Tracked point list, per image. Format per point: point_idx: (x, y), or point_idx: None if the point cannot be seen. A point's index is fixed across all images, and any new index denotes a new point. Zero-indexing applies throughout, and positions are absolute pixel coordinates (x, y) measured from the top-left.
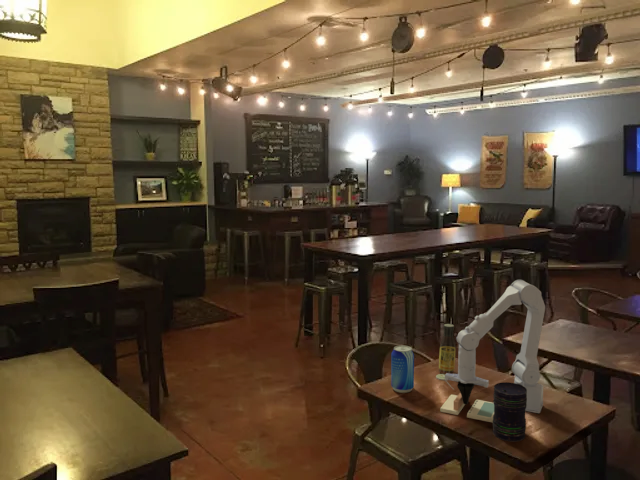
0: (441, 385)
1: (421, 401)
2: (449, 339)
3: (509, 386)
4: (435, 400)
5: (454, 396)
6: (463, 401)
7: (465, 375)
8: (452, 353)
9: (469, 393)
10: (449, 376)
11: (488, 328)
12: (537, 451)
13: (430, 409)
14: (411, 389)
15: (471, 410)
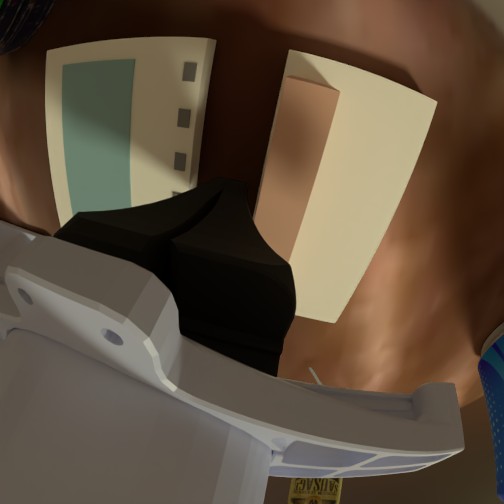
0: (357, 386)
1: (498, 242)
2: None
3: None
4: (428, 266)
5: (316, 303)
6: (242, 186)
7: (5, 460)
8: (300, 491)
9: (141, 205)
10: (418, 445)
11: None
12: None
13: (480, 136)
14: (496, 335)
15: (179, 108)
